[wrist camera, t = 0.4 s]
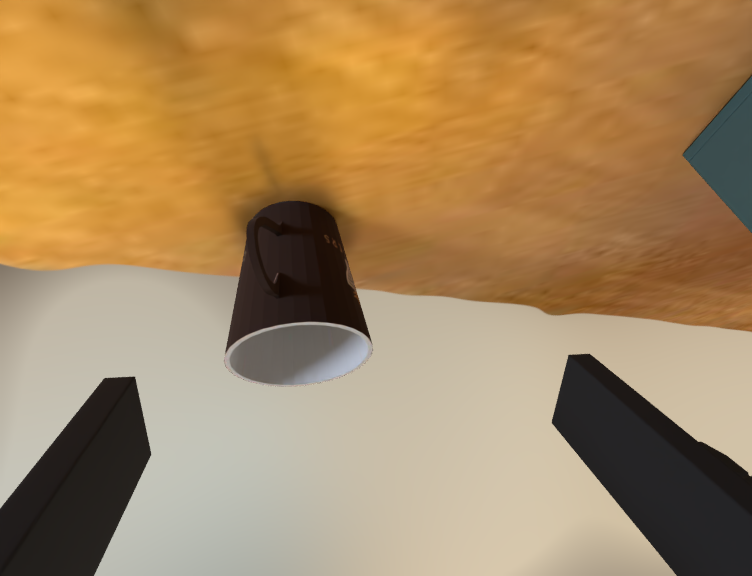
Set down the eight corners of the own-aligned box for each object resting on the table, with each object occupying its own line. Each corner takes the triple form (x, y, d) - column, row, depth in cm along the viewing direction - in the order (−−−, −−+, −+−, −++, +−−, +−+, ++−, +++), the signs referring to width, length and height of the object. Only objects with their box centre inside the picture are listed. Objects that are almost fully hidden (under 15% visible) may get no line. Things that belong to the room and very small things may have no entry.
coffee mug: (337, 272, 34) (351, 384, 29) (229, 265, 31) (222, 388, 26) (381, 162, 25) (413, 293, 20) (236, 137, 22) (228, 283, 17)
